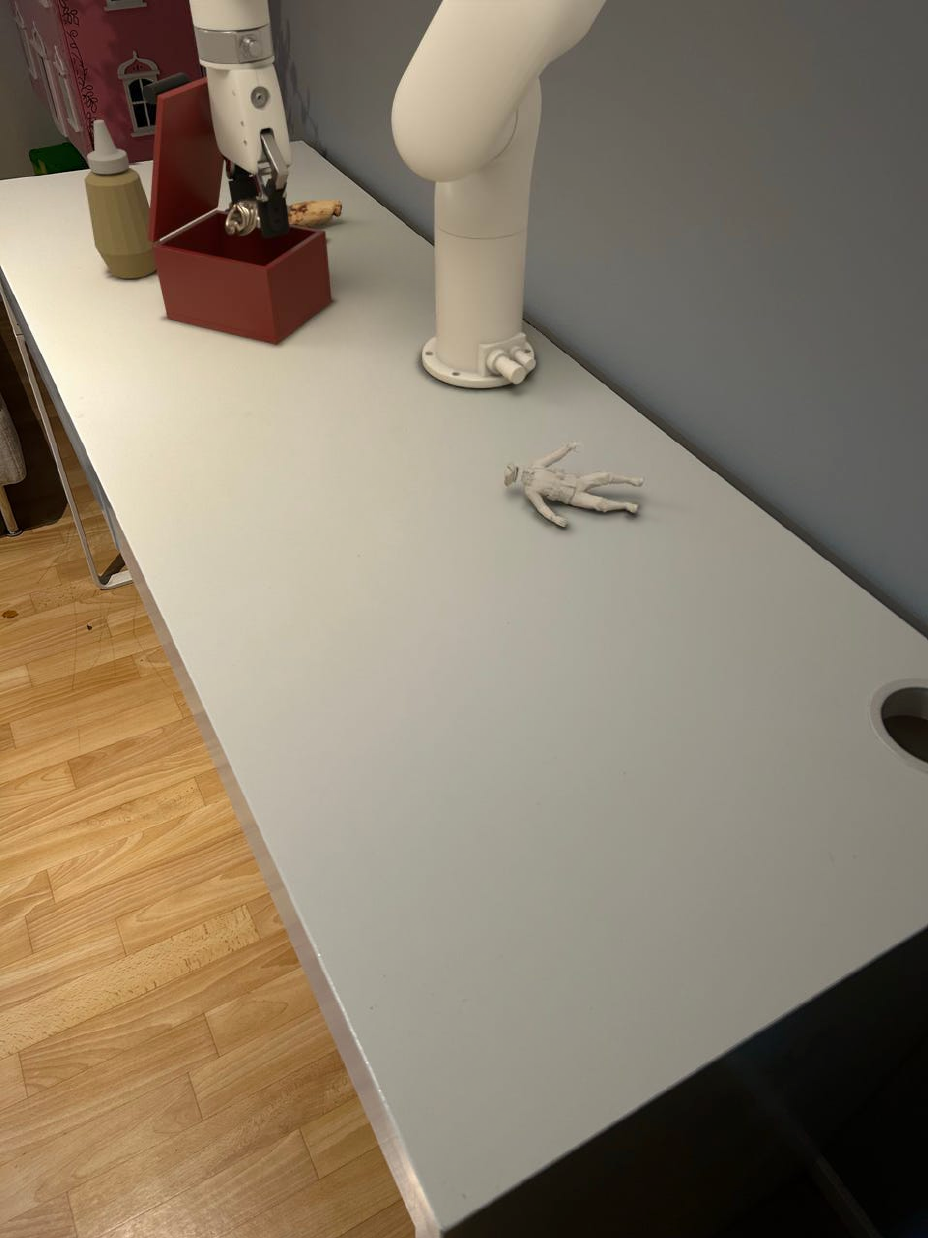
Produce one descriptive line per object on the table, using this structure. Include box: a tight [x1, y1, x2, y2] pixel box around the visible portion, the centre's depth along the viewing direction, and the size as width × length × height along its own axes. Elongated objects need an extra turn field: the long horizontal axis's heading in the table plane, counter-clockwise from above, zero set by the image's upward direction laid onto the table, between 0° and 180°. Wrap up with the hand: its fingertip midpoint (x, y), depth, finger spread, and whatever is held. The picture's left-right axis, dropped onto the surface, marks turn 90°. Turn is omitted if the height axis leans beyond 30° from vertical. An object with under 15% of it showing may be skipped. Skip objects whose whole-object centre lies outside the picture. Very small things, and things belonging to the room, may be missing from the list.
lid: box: [141, 72, 225, 243], centre depth 105 cm, size 16×13×5 cm
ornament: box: [225, 196, 290, 236], centre depth 105 cm, size 8×7×4 cm
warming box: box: [152, 209, 333, 346], centre depth 112 cm, size 16×13×9 cm
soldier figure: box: [503, 440, 645, 527], centre depth 85 cm, size 8×5×12 cm
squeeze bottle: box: [84, 119, 161, 279], centre depth 117 cm, size 8×8×18 cm
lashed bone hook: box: [224, 199, 343, 228], centre depth 130 cm, size 9×5×18 cm
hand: (261, 223), depth 106 cm, fingers closed on ornament, 6 cm apart
